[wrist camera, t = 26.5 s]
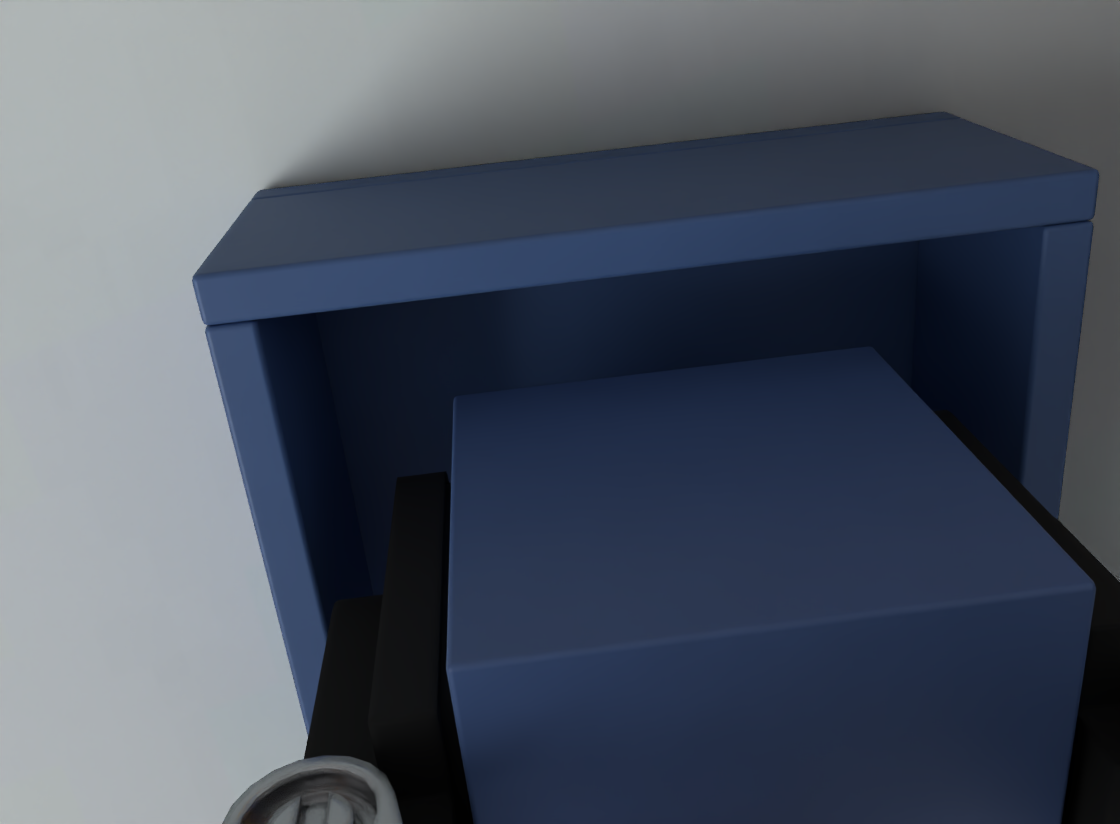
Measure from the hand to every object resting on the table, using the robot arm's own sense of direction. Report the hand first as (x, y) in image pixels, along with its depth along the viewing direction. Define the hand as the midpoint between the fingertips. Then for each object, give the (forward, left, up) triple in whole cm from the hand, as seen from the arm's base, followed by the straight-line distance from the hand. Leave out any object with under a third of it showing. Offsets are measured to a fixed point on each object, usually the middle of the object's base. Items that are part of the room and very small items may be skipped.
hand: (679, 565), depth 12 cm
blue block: (0, 0, 0) cm, 0 cm away
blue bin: (0, 0, -3) cm, 3 cm away
